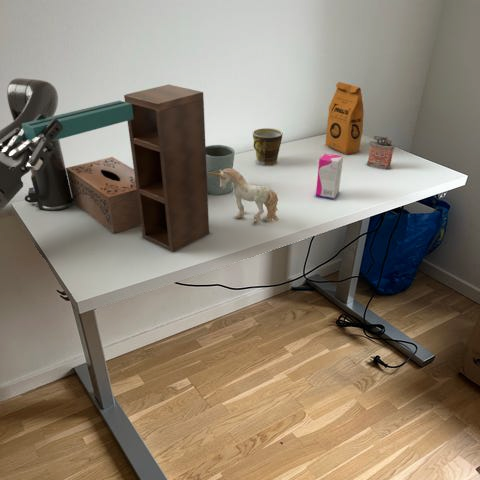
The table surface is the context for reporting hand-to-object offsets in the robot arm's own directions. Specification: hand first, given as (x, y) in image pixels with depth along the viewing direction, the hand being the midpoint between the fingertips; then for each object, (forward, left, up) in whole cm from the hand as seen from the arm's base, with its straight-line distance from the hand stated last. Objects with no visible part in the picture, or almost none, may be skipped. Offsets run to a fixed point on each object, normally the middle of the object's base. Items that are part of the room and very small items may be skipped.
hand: (51, 120), depth 90 cm
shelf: (+23, +16, -35) cm, 44 cm away
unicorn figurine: (+41, +19, -35) cm, 57 cm away
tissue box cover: (+8, +36, -35) cm, 51 cm away
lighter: (+97, +49, -35) cm, 114 cm away
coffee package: (+92, +68, -35) cm, 119 cm away
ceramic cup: (+60, +61, -35) cm, 92 cm away
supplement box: (+71, +31, -35) cm, 85 cm away
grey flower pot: (+40, +43, -35) cm, 68 cm away
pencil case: (+5, +4, -3) cm, 7 cm away
